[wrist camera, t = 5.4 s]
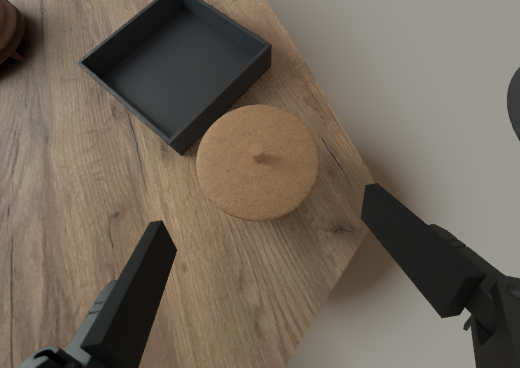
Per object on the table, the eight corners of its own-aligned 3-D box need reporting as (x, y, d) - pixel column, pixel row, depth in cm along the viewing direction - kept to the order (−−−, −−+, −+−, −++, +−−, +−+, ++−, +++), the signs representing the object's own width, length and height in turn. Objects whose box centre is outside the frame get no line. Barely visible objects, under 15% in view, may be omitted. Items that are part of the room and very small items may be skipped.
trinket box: (208, 154, 26) (176, 111, 17) (287, 131, 26) (298, 77, 17) (229, 237, 23) (205, 238, 14) (317, 210, 24) (347, 194, 15)
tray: (271, 66, 29) (271, 44, 26) (181, 155, 26) (169, 144, 23) (185, 8, 33) (175, -18, 29) (96, 81, 30) (75, 62, 26)
